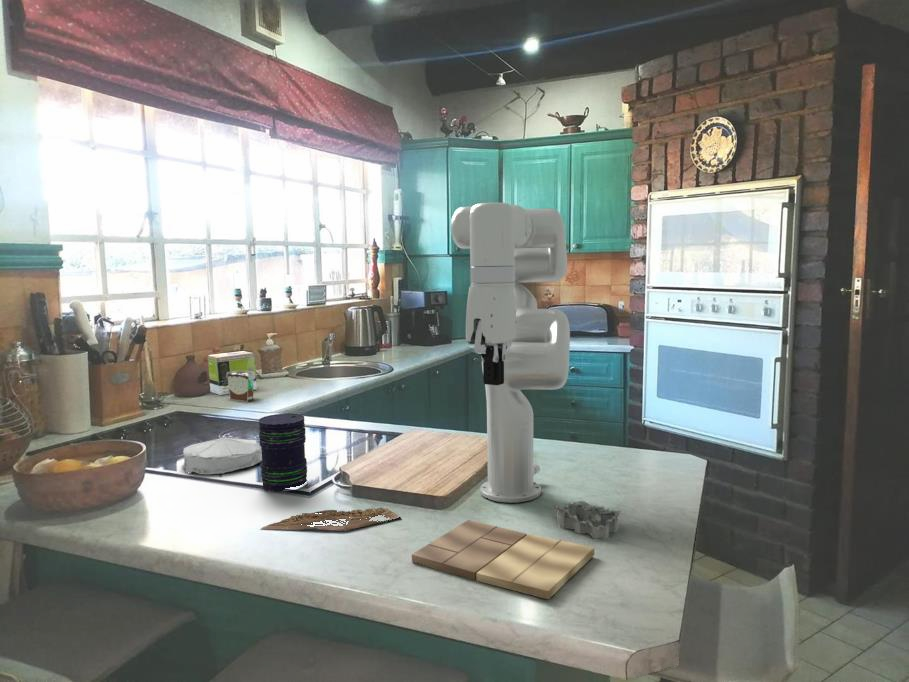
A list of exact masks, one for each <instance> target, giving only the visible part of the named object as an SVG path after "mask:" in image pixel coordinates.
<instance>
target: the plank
mask: <svg viewBox="0 0 909 682" xmlns="http://www.w3.org/2000/svg"><path fill="white" fill-rule="evenodd" d="M593 556H595V547H593V546H589V545H583V544H579V543H576V542H575V543H573V542H569V541H565V540H559V539H554V538H549V537H545V536H539V535H535V534H530V533H527V536H525V537H524V538H523V539H521V540H520V541H518V542H517V543H516V544H514V545H513V546H512V547H510V548H509V549H508V550H506V551H505V552H504V553H502V554H501V555H500V556H498V557H497V558H496V559H494V560H493V561H492V562H490V563H489V564H488V565H486V566H485V567H484V568H482V569H481V570H480V571H478V572H477V573H476V577H477V579H476V581H477V582H481V583H485V584H489V585H493V586H496V587H500V588H503V589H507V590H511V591H516V592H519V593H522V594H527V595H531V596H535V597H538V598H542V599H547V600H549V599H550V598H551V597H552V596H554V594H556V593H557V592H558V591H559V589H561V588H562V587H563V586H564V585H565V584H566V583H567V582H568V581H569V580H571V578H572V577H573V576H575V574H576V573H577V572H578V571H579V570H580V569H582V567H583V566H585V565H586V564H587V563H588V562H589V561H590V560H591V559H592V558H593Z"/></svg>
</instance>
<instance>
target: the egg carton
mask: <svg viewBox="0 0 909 682" xmlns="http://www.w3.org/2000/svg"><path fill="white" fill-rule="evenodd" d="M553 509H555V510H556V511H557V512H556V524H557V525H558V527H559V529H563V530H564V529H572V530H574V532H575V533H577V534H590V535H591V538H593V539H607V538H609V537H610V533H618V531H619V517H620V514H621V512H622V510H614V509H612V510H610V509H609V508H605V507H604V506H597V505H593V504H590V503H588V502H586V501H585V500H584V501H583V500H578V501H574V502H573V503H568V505H564V506H563V508H561V507H560V506H557V505H554V506H553ZM578 517H579V518H581V520H582V521H579V520H578Z"/></svg>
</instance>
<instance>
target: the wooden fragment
mask: <svg viewBox="0 0 909 682" xmlns="http://www.w3.org/2000/svg"><path fill="white" fill-rule="evenodd" d="M373 509H374V510H375V511H374V510H373ZM337 511H338V510H337V509H325V510H320V511H315V512H306V513H304V512H302V513H301V514H302V515H301V514H296V515H291V516H290V517H289V518H285V519H282V520H280V521H278V522H272V523H270V524H268V525H265V526H262V527H261V528H260V530H297V531H298V530H321V531H341V532H345V533H347V532H348V531H349V532H350V531H351V530H354V529H357V528H361V527H362V528H363V527H367V526H370V525H376V524H380V523H385V522H384V521H382V522H380V521H378V520H377V521H378V522H377V521H373V520H372V521H369V520H370V519H371V518H372V517H375V516H378V515H382V516H383V515H385V516H384V517H386V518H388V517H389V518H390V519H389V521H393V520H395V519H400V518H399V517H401V516H400V515H399V514H397V513H396V512H393V511H391V510H390V509H389V508H384V507H377V509H375V508H367V509H364V510H363V509H356V510H355V509H352V510H351V511H350V510H348V511H344V510H339V511H338V512H337ZM315 513H318V514H315ZM319 513H322V514H319ZM349 517H350V518H349ZM369 517H371V518H369ZM366 518H367V519H366ZM339 519H346V520H345V521H346V522H347V521H349V522H348V524H347V525H346V522H344V521H341V520H339ZM360 519H361V520H360ZM392 519H393V520H392ZM325 520H332V521H336V520H338V521H336V522H339V523H341V522H343V523H345V524H343V523H341V524H343V526H339V525H338V526H333V525H331V524H330V525H327V526H326V525H325V526H314V527H310V526H307V525H313V522H320V521H322V522H323V523H325V524H327V523H329V522H327V523H326V521H325ZM324 521H325V522H324ZM340 521H341V522H340ZM386 522H388V520H387V521H386ZM311 523H312V524H311ZM301 524H302V525H301ZM332 524H337V523H332ZM315 525H323V524H315ZM346 531H347V532H346Z"/></svg>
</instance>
